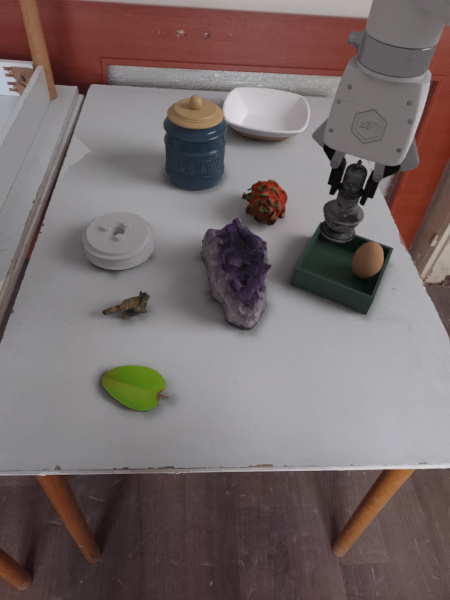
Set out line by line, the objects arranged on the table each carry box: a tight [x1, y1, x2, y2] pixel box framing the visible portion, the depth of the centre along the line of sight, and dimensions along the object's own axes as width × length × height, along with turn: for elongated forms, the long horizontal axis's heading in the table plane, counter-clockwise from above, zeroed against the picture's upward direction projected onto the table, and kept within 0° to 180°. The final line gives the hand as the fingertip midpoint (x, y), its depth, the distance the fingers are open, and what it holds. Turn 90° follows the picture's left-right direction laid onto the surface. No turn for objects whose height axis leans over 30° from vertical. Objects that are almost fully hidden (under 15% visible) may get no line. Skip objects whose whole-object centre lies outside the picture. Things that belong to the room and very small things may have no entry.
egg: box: [352, 241, 384, 279], centre depth 79 cm, size 5×5×8 cm
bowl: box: [221, 86, 311, 142], centre depth 113 cm, size 22×22×5 cm
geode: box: [200, 216, 272, 331], centre depth 76 cm, size 20×12×10 cm, turn 12°
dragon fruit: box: [241, 179, 288, 227], centre depth 90 cm, size 8×8×12 cm
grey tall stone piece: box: [320, 158, 368, 243], centre depth 62 cm, size 6×6×12 cm
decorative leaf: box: [101, 364, 170, 412], centre depth 65 cm, size 8×9×1 cm
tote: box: [289, 221, 394, 315], centre depth 81 cm, size 14×14×4 cm
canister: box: [162, 94, 228, 191], centre depth 93 cm, size 13×13×18 cm
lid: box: [81, 211, 155, 271], centre depth 82 cm, size 13×13×5 cm
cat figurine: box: [101, 290, 151, 320], centre depth 73 cm, size 3×8×4 cm, turn 105°
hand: (349, 193), depth 62 cm, fingers closed on grey tall stone piece, 3 cm apart
